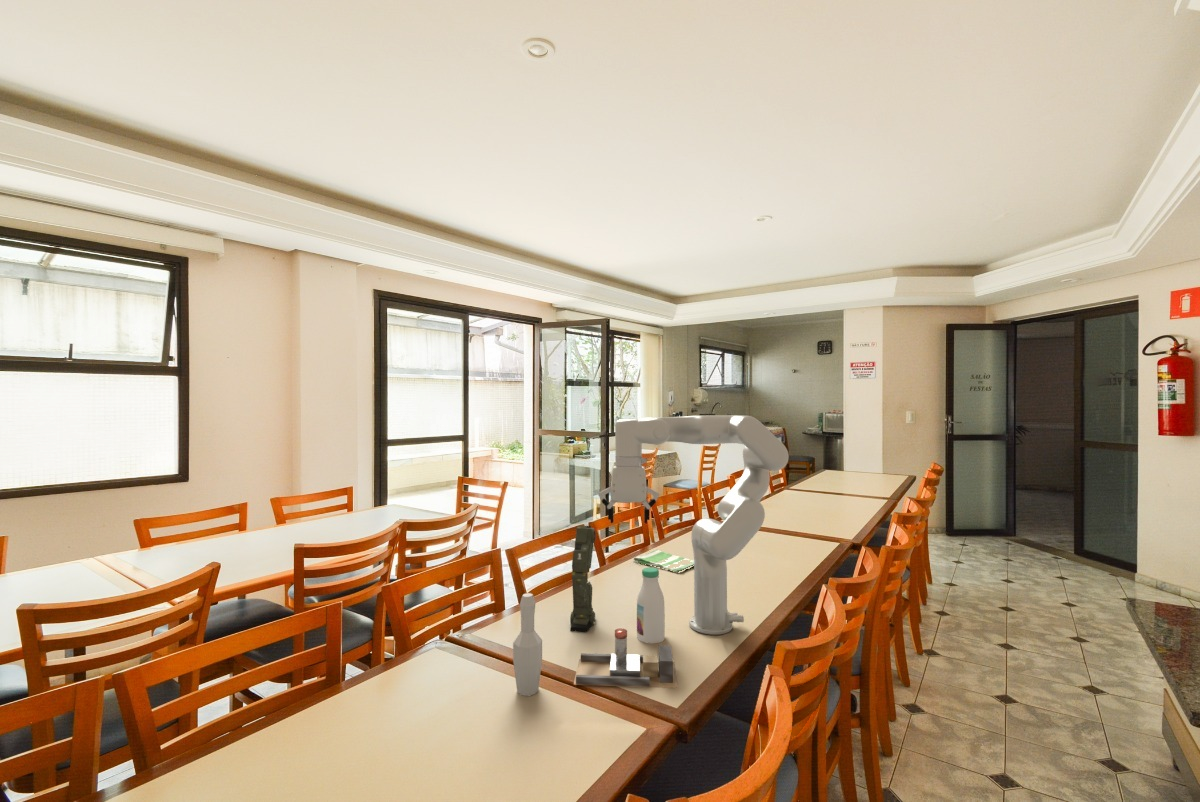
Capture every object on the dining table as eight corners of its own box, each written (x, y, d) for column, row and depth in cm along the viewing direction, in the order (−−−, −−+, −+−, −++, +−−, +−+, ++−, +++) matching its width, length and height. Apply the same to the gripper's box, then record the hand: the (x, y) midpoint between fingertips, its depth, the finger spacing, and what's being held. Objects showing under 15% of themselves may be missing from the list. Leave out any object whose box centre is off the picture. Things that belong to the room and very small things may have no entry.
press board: (674, 666, 132) (674, 642, 132) (678, 693, 120) (677, 665, 120) (579, 663, 134) (579, 639, 134) (573, 689, 122) (573, 662, 122)
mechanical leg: (587, 635, 149) (592, 525, 156) (562, 632, 150) (569, 524, 157) (597, 627, 162) (601, 526, 169) (574, 625, 163) (579, 525, 170)
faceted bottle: (529, 701, 117) (529, 602, 118) (508, 692, 121) (507, 596, 121) (547, 687, 123) (546, 593, 123) (526, 680, 126) (525, 588, 126)
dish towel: (679, 575, 204) (679, 568, 204) (632, 563, 220) (632, 557, 220) (703, 565, 217) (703, 558, 217) (657, 554, 233) (657, 548, 233)
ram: (639, 664, 131) (639, 624, 131) (639, 681, 123) (639, 638, 123) (611, 663, 131) (611, 623, 132) (609, 680, 123) (609, 638, 124)
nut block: (657, 670, 128) (657, 655, 128) (658, 677, 125) (658, 662, 125) (643, 669, 129) (643, 655, 129) (643, 677, 125) (643, 662, 125)
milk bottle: (667, 637, 149) (667, 566, 149) (661, 649, 142) (661, 575, 142) (640, 633, 152) (640, 564, 152) (633, 645, 144) (633, 572, 144)
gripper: (658, 461, 154) (658, 519, 153) (599, 460, 155) (599, 519, 155) (659, 463, 146) (659, 525, 146) (597, 463, 147) (597, 525, 147)
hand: (628, 522), depth 150 cm, fingers open, 9 cm apart
